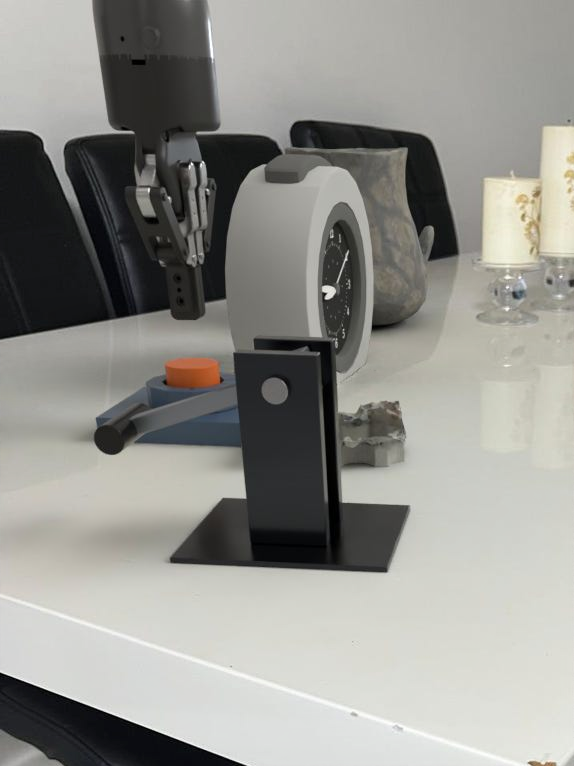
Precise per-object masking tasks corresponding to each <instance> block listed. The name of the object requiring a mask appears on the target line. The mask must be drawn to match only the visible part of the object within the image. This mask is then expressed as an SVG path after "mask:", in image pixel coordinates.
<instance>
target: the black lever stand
mask: <svg viewBox="0 0 574 766" xmlns="http://www.w3.org/2000/svg"><path fill="white" fill-rule="evenodd" d="M253 341H254V350H242V349H239V350H237V351H235V350H234V352H233V353H232V359H233V360H232V361H233V369H234V375H235V381H236V392H237V403H238V414H239V425H240V436H241V447H240V448H241V455H242V466H243V477H244V489H245V498H242V497H241V498H240V497H222V498H221V499H220V500H219V501H218V502H217V504H216V505H214V507H213V508H212V509H211V510H210V512H209V513H208V514H207V515H206V516H205V517H204V518H203V520H202V521H200V523H199V524H198V525H197V526H196V527H195V528H194V529H193V530H192V532H191V533H190V534H189V535H188V536H187V538H186V539H184V541H183V542H181V544H180V545H179V546H178V548H177V549H176V550H174V552H173V553H172V554H171V556H169V563H170V564H180V565H181V564H184V565H203V566H205V565H206V566H227V567H229V566H230V567H250V568H251V567H252V568H270V569H271V568H273V569H275V568H276V569H295V570H297V569H298V570H299V569H300V570H317V571H318V570H321V571H343V572H362V573H363V572H364V573H388V572H389V569H390V567H391V565H392V561H393V558H394V556H395V553H396V550H397V547H398V544H399V542H400V539H401V537H402V534H403V531H404V529H405V526H406V523H407V520H408V518H409V515H410V512H411V505H410V504H390V503H388V504H387V503H385V504H384V503H364V502H363V503H362V502H343V487H342V486H343V484H342V467H341V462H340V440H339V418H338V413H339V401H338V399H339V397H338V384H337V374H336V352H335V338H328V337H298V336H267V335H258V336H256V337H255V338H254V339H253ZM306 346H308V348H309V351H310V352H302V351H293V350H296V349H300V348H303V347H306ZM322 386H323V388H322Z"/></svg>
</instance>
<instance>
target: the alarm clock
mask: <svg viewBox="0 0 574 766" xmlns="http://www.w3.org/2000/svg"><path fill="white" fill-rule="evenodd" d="M229 219H230V220H229V224H228V230H227V235H226V248H225V263H224V264H225V265H224V277H225V301H226V311H227V317H228V323H229V331H230V335H231V336H230V337H231V340H232V344H233V347H234V352H235V351H237V350H239V349H242V350H254V341H253V339H254V338H255V337H256V336H258V335H267V336H298V337H328V338H335V352H336V374H337V385H339V384H341V383H343V382H344V381H345V380H347V378H349V377H350V376H351V375H353V374H354V373H356V372H357V371H358V370H360V369H361V368H362V367H364V366H365V365H366V361H367V357H368V353H369V347H370V340H371V334H372V326H373V325H372V314H373V260H372V246H371V239H370V232H369V225H368V219H367V215H366V211H365V207H364V203H363V199H362V196H361V194H360V191H359V189H358V186H357V184H356V182H355V180H354V179H353V178H352V176H351V175H350V173H349V172H348V171H347V170H345V169H342V168H339V167H333V166H332V165H331V164H330V163H329V162H328V161H327V160H325V159H324V158H322V157H320V156H317V155H293V154H285V153H284V154H283V153H282V154H280V155H277V156H276V157H274V158H273V159H272V160H270V161H269V162H268V163H267V164H266V163H265V164H263V163H262V164H261V165H259V166H257V167H255V168H253V169H251V170H250V171H249V172H248V174H247V175H246V177H245V178H244V180H243V181H242V182H241V184H240V186H239V188H238V191H237V194H236V196H235V199H234V202H233V204H232V208H231V213H230V218H229Z"/></svg>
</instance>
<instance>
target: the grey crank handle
mask: <svg viewBox="0 0 574 766" xmlns="http://www.w3.org/2000/svg"><path fill="white" fill-rule="evenodd" d="M293 351H302V352H310V351H309V348H308V346H306V347H303V348H300V349H296V350H293ZM322 388H323V386H322ZM236 405H238V403H237V392H236V384H233V385H229V386H226V387H223V388H220V389H216V390H213V391H210V392H207V393H203V394H200V395H197V396H194V397H190V398H187V399H184V400H181V401H178V402H174V403H171V404H168V405H165V406H161V407H158V408H155V409H151V408H150V407H149V406H147V405H146V404H143V403H135V404H133V405H131V406H130V407H128V408H127V409H125V410H124V411H122V412H121V413H119V414H118V415H116V416H115V417H113V418H112V419H110V420H109V421H107V422H106V423H104V424H103V425H101V426H100V427H98V428H97V427H96V429H95V430H94V433H93V441H94V444H95V447H96V448H97V449H98V450H99V451H100V452H101V453H103V454H105V455H109V456H116V455H118V454H120V453H122V451H124V450H125V449H126V448H128V447H129V446H131V445H132V444H134V443H133V442H134V441H136V440H137V439H138V438H140V437H141V436H142V435H144V434H145V433H147V432H151V431H154V430H157V429H161V428H164V427H167V426H170V425H174V424H177V423H180V422H184V421H187V420H190V419H193V418H197V417H200V416H203V415H207V414H210V413H213V412H216V411H220V410H223V409H226V408H230V407H233V406H236Z"/></svg>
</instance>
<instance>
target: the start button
mask: <svg viewBox="0 0 574 766" xmlns="http://www.w3.org/2000/svg"><path fill="white" fill-rule="evenodd" d="M219 366H220V364H219V361H218V360H216V359H213V358H209V357H183V358H176V359H175V358H174V359H171V360H167V361H166V362H164V370H165V371H164V373H165V374H166V380H167V386H172V387H181V388H197V387H208V386H213V385H217V384H220V374H219V372H220V367H219Z"/></svg>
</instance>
